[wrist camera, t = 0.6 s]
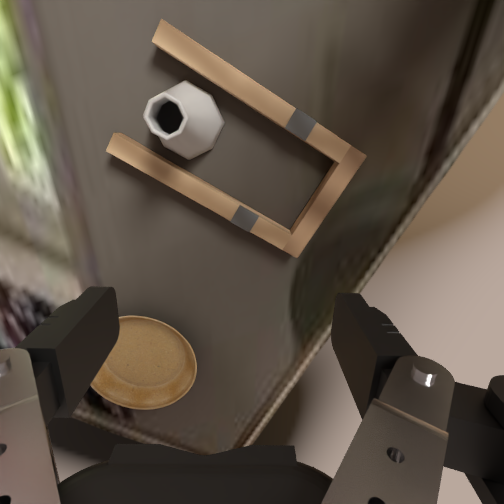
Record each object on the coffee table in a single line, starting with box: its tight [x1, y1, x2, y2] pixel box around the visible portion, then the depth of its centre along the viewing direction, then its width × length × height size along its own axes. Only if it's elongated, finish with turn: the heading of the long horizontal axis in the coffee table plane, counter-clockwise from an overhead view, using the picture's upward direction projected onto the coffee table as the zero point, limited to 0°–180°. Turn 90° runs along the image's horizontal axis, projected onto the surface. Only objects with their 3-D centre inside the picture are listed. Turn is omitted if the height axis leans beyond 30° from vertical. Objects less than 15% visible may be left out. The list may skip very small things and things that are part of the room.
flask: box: [143, 80, 225, 160], centre depth 29 cm, size 7×7×10 cm
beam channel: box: [106, 19, 366, 258], centre depth 33 cm, size 13×23×2 cm, turn 59°
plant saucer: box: [90, 316, 197, 410], centre depth 42 cm, size 15×15×3 cm
